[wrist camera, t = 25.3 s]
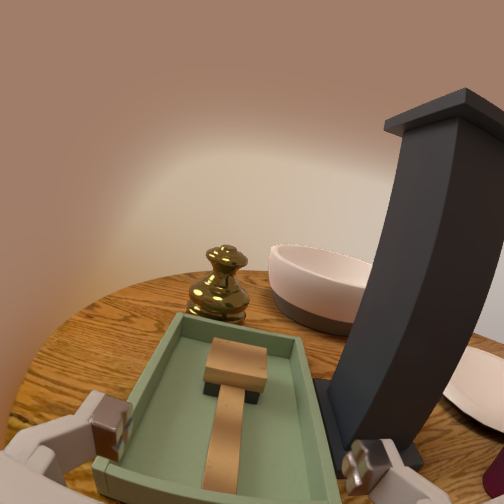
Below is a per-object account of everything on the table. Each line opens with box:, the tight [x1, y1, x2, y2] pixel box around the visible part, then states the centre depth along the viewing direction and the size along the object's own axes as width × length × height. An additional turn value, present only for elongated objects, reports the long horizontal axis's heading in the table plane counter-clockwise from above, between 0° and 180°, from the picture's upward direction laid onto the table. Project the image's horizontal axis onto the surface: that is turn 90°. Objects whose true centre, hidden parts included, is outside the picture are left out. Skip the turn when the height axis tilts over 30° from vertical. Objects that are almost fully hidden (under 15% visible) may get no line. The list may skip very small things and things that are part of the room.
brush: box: [201, 337, 268, 495], centre depth 21 cm, size 16×5×3 cm, turn 178°
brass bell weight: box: [186, 245, 250, 326], centre depth 37 cm, size 7×7×10 cm
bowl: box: [268, 244, 372, 336], centre depth 50 cm, size 22×22×8 cm
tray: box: [91, 312, 342, 504], centre depth 23 cm, size 14×22×3 cm, turn 179°
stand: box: [313, 88, 504, 478], centre depth 20 cm, size 8×12×26 cm, turn 179°
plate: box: [442, 346, 504, 435], centre depth 30 cm, size 25×25×2 cm
